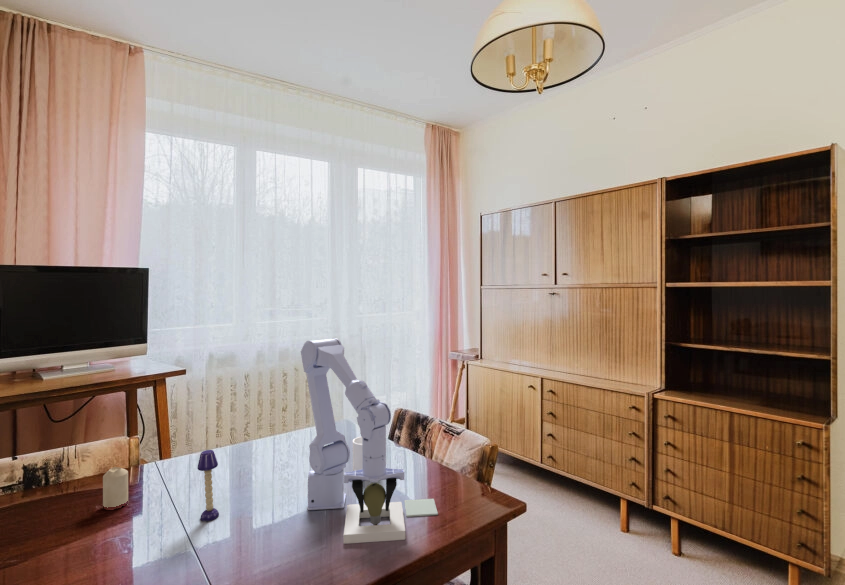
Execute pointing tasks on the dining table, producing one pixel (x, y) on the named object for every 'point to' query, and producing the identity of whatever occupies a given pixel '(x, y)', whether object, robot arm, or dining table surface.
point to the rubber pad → (420, 507)
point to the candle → (115, 487)
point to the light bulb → (374, 501)
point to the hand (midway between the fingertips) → (374, 509)
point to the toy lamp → (208, 483)
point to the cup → (357, 454)
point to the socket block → (374, 532)
